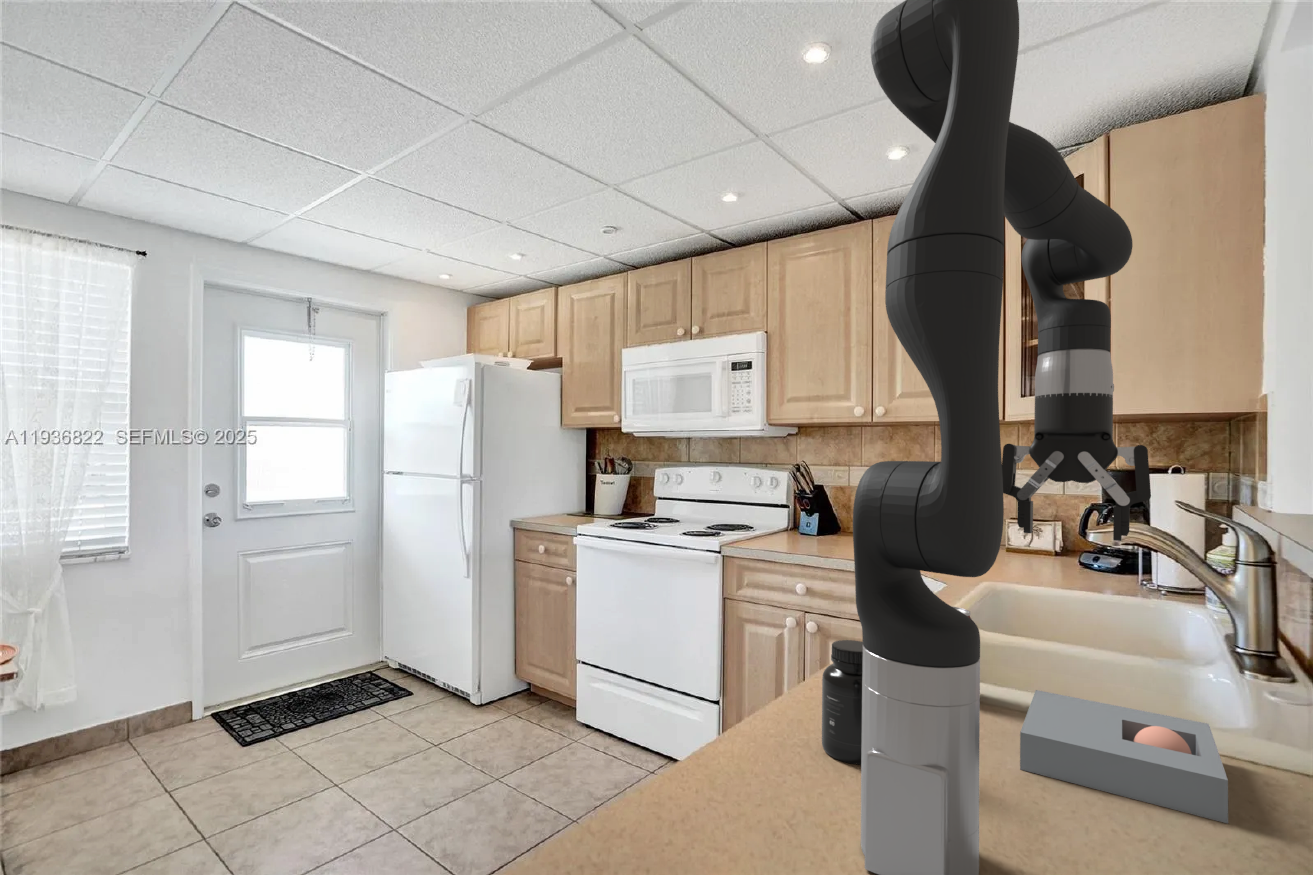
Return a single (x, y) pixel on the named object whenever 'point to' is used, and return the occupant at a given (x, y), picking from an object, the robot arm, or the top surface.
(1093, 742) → the grey block with recess
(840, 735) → the supplement bottle
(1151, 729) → the ball
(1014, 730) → the top surface
